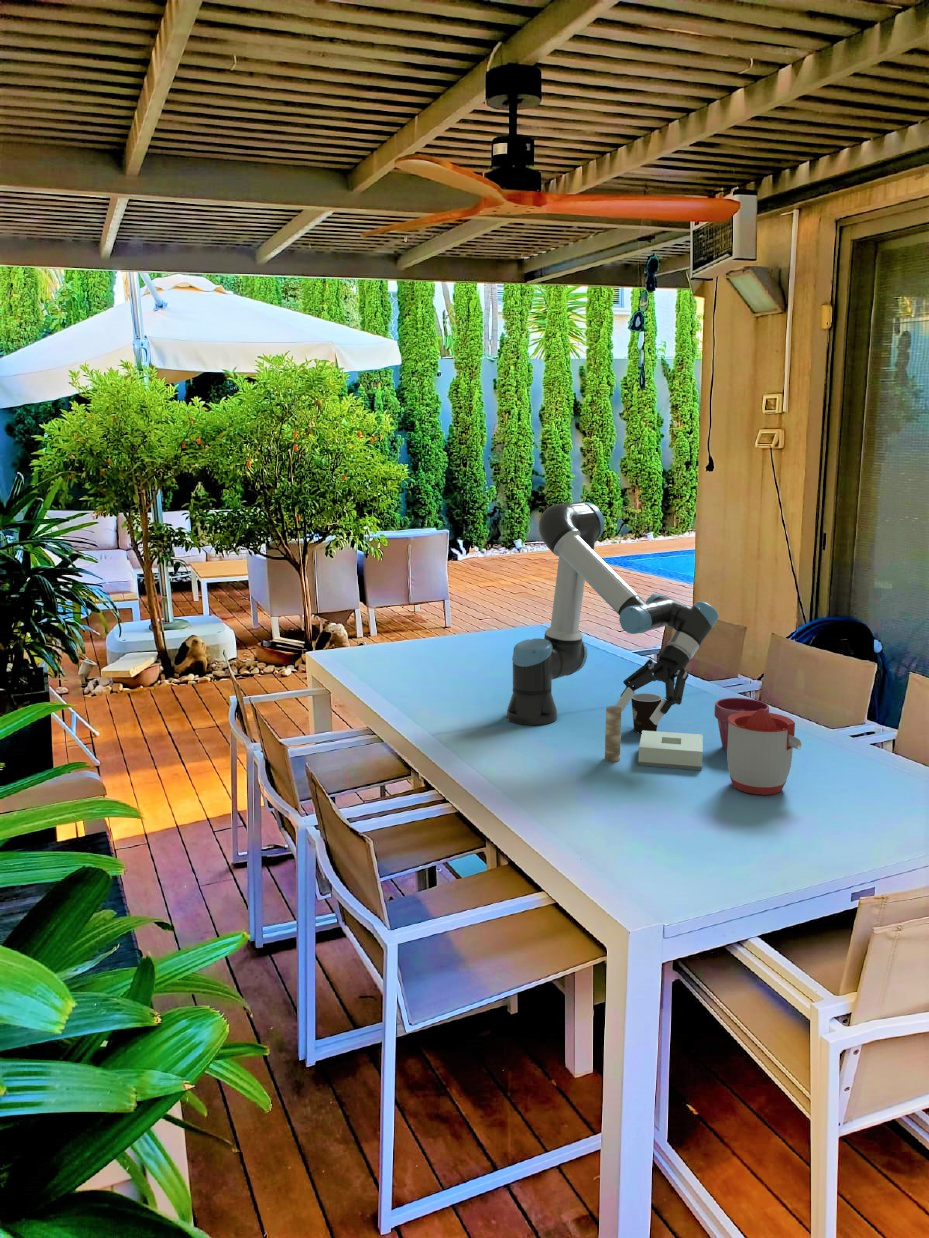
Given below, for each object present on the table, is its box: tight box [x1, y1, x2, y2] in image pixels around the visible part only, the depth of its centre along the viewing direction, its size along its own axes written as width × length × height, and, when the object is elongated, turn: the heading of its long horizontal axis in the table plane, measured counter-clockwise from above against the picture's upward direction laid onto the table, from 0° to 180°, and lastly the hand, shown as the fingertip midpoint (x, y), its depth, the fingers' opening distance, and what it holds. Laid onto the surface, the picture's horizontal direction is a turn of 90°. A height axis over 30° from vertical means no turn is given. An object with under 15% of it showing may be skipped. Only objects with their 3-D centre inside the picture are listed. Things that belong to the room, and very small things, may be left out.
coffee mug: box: [630, 692, 663, 734], centre depth 275 cm, size 12×9×10 cm
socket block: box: [637, 730, 704, 771], centre depth 251 cm, size 16×14×5 cm
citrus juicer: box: [726, 709, 802, 796], centre depth 229 cm, size 16×17×20 cm
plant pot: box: [713, 697, 770, 752], centre depth 257 cm, size 14×14×13 cm
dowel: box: [604, 705, 622, 763], centre depth 250 cm, size 4×4×14 cm
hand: (635, 715), depth 251 cm, fingers open, 13 cm apart
